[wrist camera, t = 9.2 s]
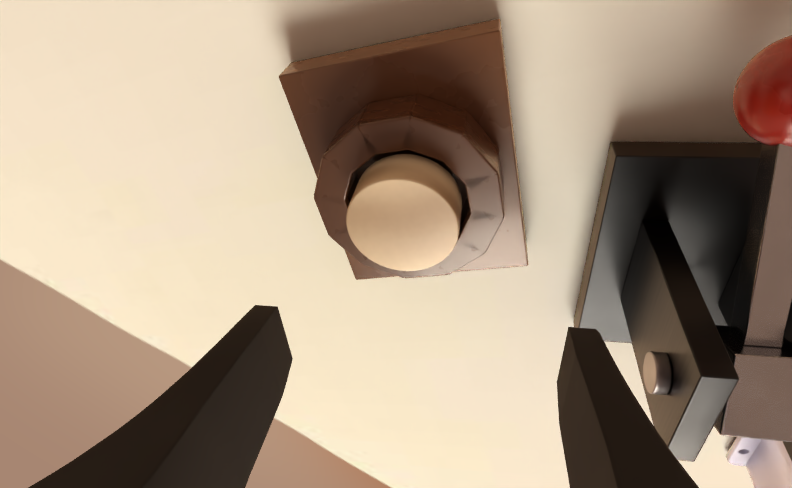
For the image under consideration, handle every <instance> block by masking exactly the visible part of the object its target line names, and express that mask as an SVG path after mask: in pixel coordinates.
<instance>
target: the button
mask: <svg viewBox="0 0 792 488" xmlns="http://www.w3.org/2000/svg"><path fill="white" fill-rule="evenodd" d="M461 210H462V198H461V193H460V189H459V187H458V185H457V183H456V181H455V180H454V178H453V177H452V176H451V174H450V173H449V172H448V171H447V170H446V169H445V168H443V167H442V166H441V165H439V164H438V163H436V162H434V161H432V160H430V159H428V158H425V157H422V156H418V155H412V154H397V155H391V156H388V157H385V158H382V159H380V160H378V161H376V162H375V163H373V164H372V165H370V166H369V167H368V168H367V169H366V170H365V172H364V173H363V174H362V176H361V178H360V179H359V182H358V184H357V186H356V189H355V191H354V194H353V196H352V198H351V201H350V203H349V206H348V209H347V213H346V225H347V230H348V233H349V236H350V238H351V240H352V241H353V243H354V245H355V246H356V247H357V248H358V250H359V251H360V252H361V253H362V254H363V255H365V256H366V257H367V258H368V259H370V260H372V261H373V262H375V263H377V264H379V265H381V266H384V267H386V268H390V269H394V270H400V271H417V270H423V269H427V268H429V267H432V266H434V265H436V264H438V263H440V262H441V261H443V260H444V259H445V258H446V257H447V256H448V255H449V254H450V253H451V252H452V250H453V249H454V247H455V245H456V243H457V240H458V236H459V229H460V220H461Z"/></svg>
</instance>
